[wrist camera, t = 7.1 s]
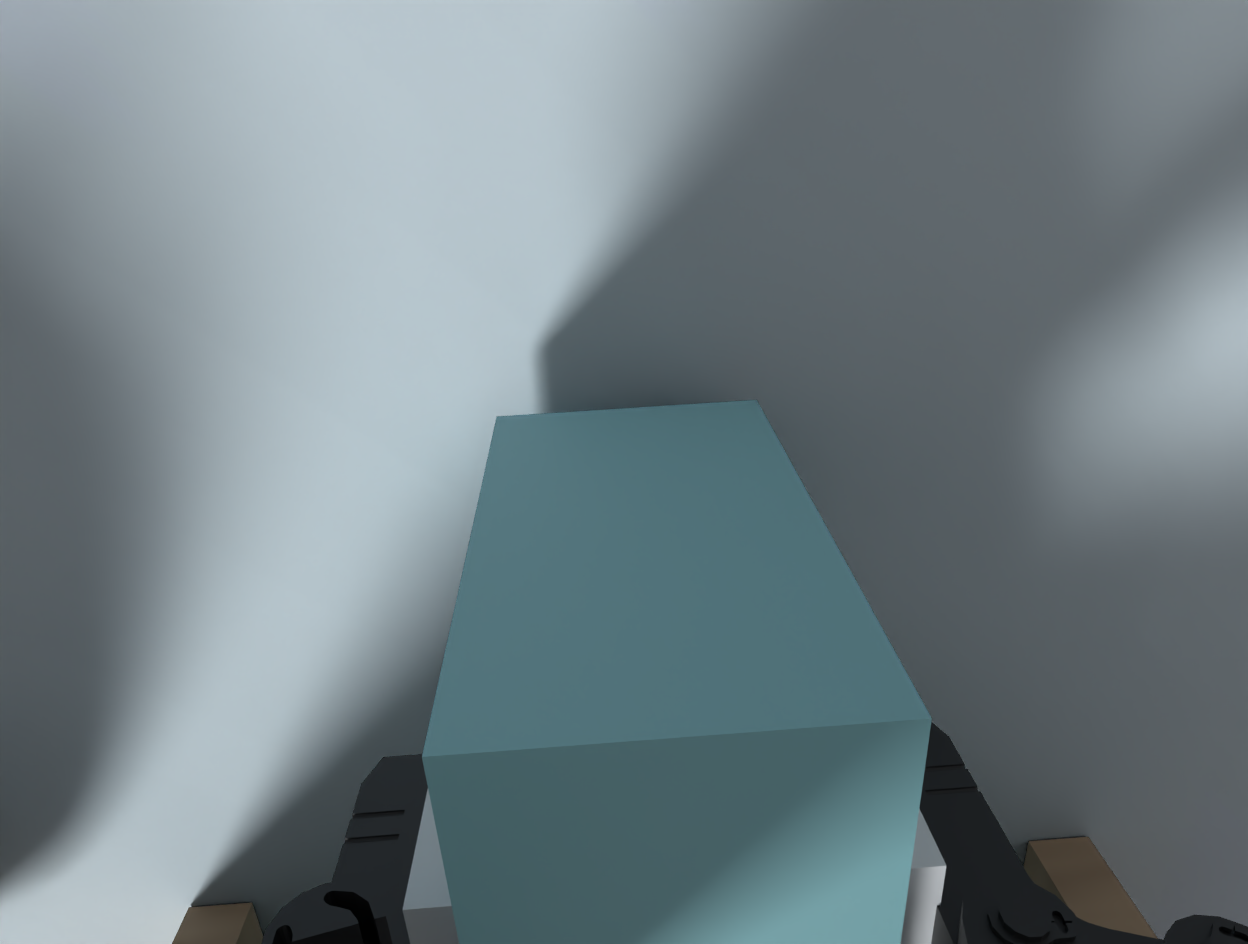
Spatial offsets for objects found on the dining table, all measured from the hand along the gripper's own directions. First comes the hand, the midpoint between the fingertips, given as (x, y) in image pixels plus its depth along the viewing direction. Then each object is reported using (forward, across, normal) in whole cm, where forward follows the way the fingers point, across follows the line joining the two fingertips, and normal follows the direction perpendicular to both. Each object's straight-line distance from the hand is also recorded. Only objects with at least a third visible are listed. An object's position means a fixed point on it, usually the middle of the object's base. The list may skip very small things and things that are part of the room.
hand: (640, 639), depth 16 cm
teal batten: (+1, 0, -7) cm, 7 cm away
